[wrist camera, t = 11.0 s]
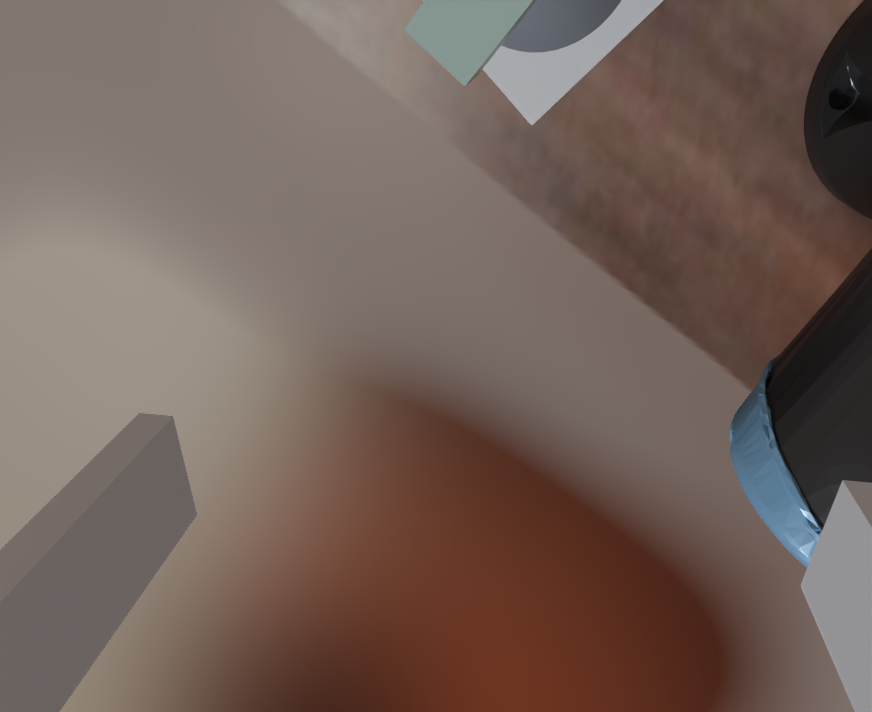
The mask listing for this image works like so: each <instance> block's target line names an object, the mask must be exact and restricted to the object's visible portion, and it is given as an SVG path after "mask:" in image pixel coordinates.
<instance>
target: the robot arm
mask: <svg viewBox="0 0 872 712" xmlns="http://www.w3.org/2000/svg"><path fill="white" fill-rule="evenodd" d="M804 136H805V144H806V148H807V153H808V156H809V159H810V162H811V164H812V166H813V169H814V171H815V172H816V174H817V176H818V177H819V179H820V180H821V182H822V183H823V184H824V186H825V187H826V188H827V189H828V190H829V191H830V192H831V193H832V194H833V195H834V196H835V197H837V198H838V199H839V200H841V201H842V202H843V203H845V204H846V205H848V206H849V207H851V208H853V209H854V210H856V211H857V212H859V213H861V214H863V215H864V216H866V217H869V218H871V219H872V0H866V1H865V2H864V3H863V4H862V5H861V6H860V7H859V8H858V9H857V10H856V11H855V12H854V13H853V14H852V15H851V16H850V18H849V19H848V20H847V21H846V22H845V24H844V25H843V26H842V27H841V29H840V30H839V31H838V33H837V34H836V35H835V37H834V38H833V40H832V41H831V43H830V45H829V46H828V48H827V50H826V51H825V53H824V55H823V57H822V59H821V61H820V63H819V65H818V67H817V69H816V72H815V74H814V76H813V79H812V82H811V85H810V88H809V92H808V96H807V101H806V106H805V115H804ZM729 434H730V444H731V449H730V454H731V460H732V463H733V466H734V469H735V472H736V474H737V477H738V479H739V482H740V484H741V486H742V488H743V490H744V492H745V494H746V495H747V497H748V499H749V501H750V502H751V503H752V505H753V507H754V508H755V510H756V511H757V513H758V514H759V516H760V517H761V518H762V519H763V521H764V522H765V524H766V525H767V526H768V528H769V529H770V530H771V531H772V533H773V534H774V535H775V536H776V537H777V538H778V539H779V540H780V542H781V543H782V544H783V545H784V546H785V547H786V548H787V549H788V551H789V552H791V554H792V555H793V556H795V558H797V559H798V560H799V561H800V562H801V563H802V564H803V565H804V566H806V567H807V571H806V573H805V576H804V578H803V581H802V583H801V588H802V591H803V593H804V595H805V598H806V600H807V602H808V605H809V607H810V609H811V612H812V613H813V616H814V618H815V621H816V623H817V625H818V628H819V630H820V632H821V635H822V637H823V639H824V641H825V644H826V646H827V648H828V651H829V653H830V656H831V658H832V660H833V663H834V665H835V667H836V669H837V672H838V674H839V676H840V679H841V681H842V683H843V686H844V688H845V690H846V693H847V695H848V697H849V700H850V702H851V704H852V707H853V709H854V711H855V712H872V248H871V250H870V251H869V252H868V253H867V254H866V255H865V257H864V258H863V259H862V260H861V261H860V263H859V264H858V265H857V266H856V267H855V268H854V270H853V271H852V272H851V273H850V274H849V276H848V277H847V278H846V279H845V280H844V282H843V283H842V284H841V285H840V286H839V287H838V289H837V290H836V291H835V292H834V293H833V294H832V296H831V297H830V298H829V299H828V300H827V301H826V302H825V304H824V305H823V306H822V307H821V308H820V309H819V310H818V312H817V313H816V314H815V315H814V316H813V317H812V318H811V320H810V321H809V322H808V323H807V324H806V325H805V327H804V328H803V329H802V330H801V331H800V332H799V333H798V335H797V336H796V337H795V338H794V339H793V340H792V341H791V343H790V344H789V345H788V346H787V347H786V348H785V349H784V351H783V352H782V353H781V354H780V355H778V356H777V357H776V358H774V359H773V360H771V361H770V362H769V363H768V364H767V365H766V367H765V368H764V370H763V372H762V375H761V377H760V381H759V383H758V384H757V385H756V387H755V388H754V389H753V391H752V392H751V393H750V394H749V396H748V397H747V399H746V400H745V401H744V402H743V404H742V405H741V406H740V408H739V409H738V410H737V412H736V413H735V415H734V418H733V420H732V423H731V426H730V431H729ZM196 515H197V513H196V509H195V505H194V501H193V496H192V492H191V489H190V484H189V480H188V476H187V472H186V468H185V464H184V460H183V456H182V451H181V447H180V443H179V440H178V435H177V431H176V427H175V423H174V419H173V416H164V415H154V414H143V413H139V414H138V415H137V416H136V417H135V418H134V419H133V420H132V421H131V422H130V423H129V424H128V425H127V426H126V427H125V428H124V429H123V430H122V431H121V432H120V433H119V434H118V435H117V436H116V437H115V438H114V439H113V440H112V441H111V442H110V443H109V444H108V445H107V446H106V447H105V448H104V449H103V450H101V451H100V452H99V454H97V455H96V456H95V457H94V458H93V459H92V460H91V461H90V463H88V464H87V465H86V466H85V467H84V468H83V469H82V470H81V471H80V472H79V473H78V474H77V475H76V476H75V477H74V478H73V479H72V480H71V481H70V482H69V483H68V484H67V485H66V486H65V487H64V488H63V489H62V490H61V491H60V492H59V493H58V494H57V495H56V496H55V497H54V498H53V499H52V500H51V501H50V502H49V503H48V504H47V505H46V506H45V507H44V508H43V509H42V510H41V511H40V512H38V514H36V515H35V516H34V517H33V518H32V519H31V520H30V521H29V522H28V524H26V525H25V526H24V527H23V528H22V529H21V530H20V531H19V532H18V533H17V534H16V535H15V536H14V537H13V538H12V539H11V540H10V541H9V542H8V543H7V544H6V545H5V546H4V547H3V548H2V549H1V550H0V712H59V711H60V710H61V708H62V707H63V706H64V704H65V703H66V701H67V700H68V699H69V697H70V696H71V694H72V693H73V691H74V690H75V689H76V687H77V686H78V684H79V683H80V681H81V680H82V678H83V677H84V676H85V674H86V673H87V671H88V670H89V669H90V667H91V666H92V664H93V663H94V661H95V660H96V658H97V657H98V656H99V654H100V653H101V651H102V650H103V649H104V647H105V646H106V644H107V643H108V641H109V640H110V639H111V637H112V635H113V634H114V632H115V631H116V630H117V629H118V627H119V626H120V624H121V623H122V621H123V620H124V619H125V617H126V616H127V614H128V613H129V611H130V610H131V608H132V607H133V606H134V604H135V603H136V601H137V600H138V598H139V597H140V596H141V594H142V593H143V591H144V590H145V588H146V587H147V585H148V584H149V583H150V581H151V580H152V578H153V577H154V576H155V574H156V572H157V571H158V570H159V568H160V567H161V566H162V564H163V563H164V561H165V560H166V558H167V557H168V556H169V554H170V553H171V551H172V550H173V548H174V547H175V546H176V544H177V543H178V541H179V540H180V538H181V537H182V536H183V534H184V533H185V531H186V530H187V528H188V527H189V525H190V524H191V523H192V521H193V520H194V518H195V517H196Z"/></svg>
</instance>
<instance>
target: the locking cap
mask: <svg viewBox="0 0 872 712" xmlns="http://www.w3.org/2000/svg"><path fill="white" fill-rule="evenodd" d="M620 2H621V0H424V2H423V3H422V5H421V6H420V8H419V9H418V10H417V12H416V13H415V15H414V16H413V18H412V19H411V20H410V22H409V23H408V25H407V26H406V28H405V29H404V30H405V31H406V32H407V33H408V34H409V35H410V36H411V37H412V38H413V39H414V40H415V41H416V42H417V43H419V44H420V45H421V46H422V47H423V48H424V49H425V50H426V51H427V52H428V53H429V54H430V55H431V56H432V57H433V58H435V59H436V60H437V61H438V62H439V63H440V64H441V65H442V66H443V67H444V68H445V69H446V70H447V71H448V72H450V73H451V74H452V75H453V76H454V77H455V78H456V79H457V80H458V81H459V82H460V83H461V84H462V85H463V86H466V85H467V84H468V83H469V82H471V81H472V80H473V79H474V78H475V77H476V76H477V75H478V74H479V73H480V72H481V70H482V69H483V68H484V67H485V65H486V64H487V63H488V61H489V60H490V59H491V58H492V56H493V55H494V54H495V53H496V51H497V50H498V49H499V48H500V46H501V45H502V46H504V47H506V48H509V49H513V50H517V51H522V52H530V53H532V52H547V51H554V50H557V49H561V48H564V47H567V46H569V45H571V44H574V43H576V42H578V41H580V40H581V39H583V38H584V37H586V36H588V35H589V34H591V33H592V32H593V31H594V30H596V29H597V28H598V27H599V26H601V25H602V23H603V22H604V21H605V20H606V19H607V18H608V17H609V16H610V15H611V14H612V13H613V11H614V10H615V9H616V8H617V6H618V5H619V4H620Z"/></svg>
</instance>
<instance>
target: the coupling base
mask: <svg viewBox="0 0 872 712" xmlns="http://www.w3.org/2000/svg"><path fill="white" fill-rule="evenodd" d="M423 1H424V0H423ZM662 1H663V0H621V2H620V4H619V5H618V6H617V8H616V9H615V10H614V11H613V13H612V14H611V15H610V16H609V17H608V18H607V19H606V20H605V21H604V22H603V23H602V25H601V26H599V27H598V28H597V29H596V30H594V31H593V32H592V33H591V34H589V35H588V36H586V37H584V38H583V39H581V40H580V41H578V42H576V43H574V44H571V45H569V46H567V47H564V48H561V49H557V50H554V51H547V52H532V53H530V52H522V51H517V50H513V49H509V48H506V47H504V46H502V45H501V46H500V48H499V49H498V50H497V51H496V53H495V54H494V55H493V56H492V58H491V59H490V60H489V61H488V63H487V64H486V65H485V67H484V68H483V70H484V71H485V72H486V74H487V75H488V76H489V77H490V78H491V79H492V80H493V82H494V83H495V84H496V85H497V86H498V87H499V89H500V90H501V91H502V92H503V93H504V94H505V95H506V97H507V98H508V99H509V100H510V101H511V102H512V103H513V105H514V106H515V107H516V108H517V109H518V110H519V112H520V113H521V114H522V115H523V116H524V117H525V118H526V120H527V121H528V122H529V123H530V124H531V125H533V124H534V123H535V122H536V121H537V120H538V119H539V118H540V117H541V116H542V115H544V114H545V113H546V112H547V111H548V110H549V109H550V108H551V107H552V106H553V105H554V104H555V103H556V102H557V101H558V100H559V99H560V98H561V97H562V96H563V95H565V94H566V93H567V92H568V91H569V90H570V89H571V88H572V87H573V86H574V85H575V84H576V83H577V82H578V81H579V80H580V79H581V78H582V77H583V76H585V75H586V74H587V73H588V72H589V71H590V70H591V69H592V68H593V67H594V66H595V65H596V64H597V63H598V62H599V61H600V60H601V59H602V58H603V57H604V56H606V55H607V54H608V53H609V52H610V51H611V50H612V49H613V48H614V47H615V46H616V45H617V44H618V43H619V42H620V41H621V40H622V39H623V38H624V37H626V36H627V35H628V34H629V33H630V32H631V31H632V30H633V29H634V28H635V27H636V26H637V25H638V24H639V23H640V22H641V21H642V20H643V19H644V18H646V17H647V16H648V15H649V14H650V13H651V12H652V11H653V10H654V9H655V8H656V7H657V6H658V5H659V4H660V3H661V2H662Z"/></svg>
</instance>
